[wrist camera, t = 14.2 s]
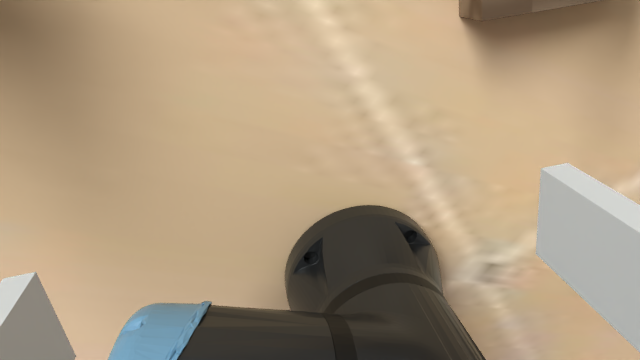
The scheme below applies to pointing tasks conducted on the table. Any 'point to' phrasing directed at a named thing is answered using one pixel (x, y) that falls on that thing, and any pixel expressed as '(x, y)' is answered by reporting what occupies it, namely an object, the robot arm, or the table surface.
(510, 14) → the socket
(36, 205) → the table surface
